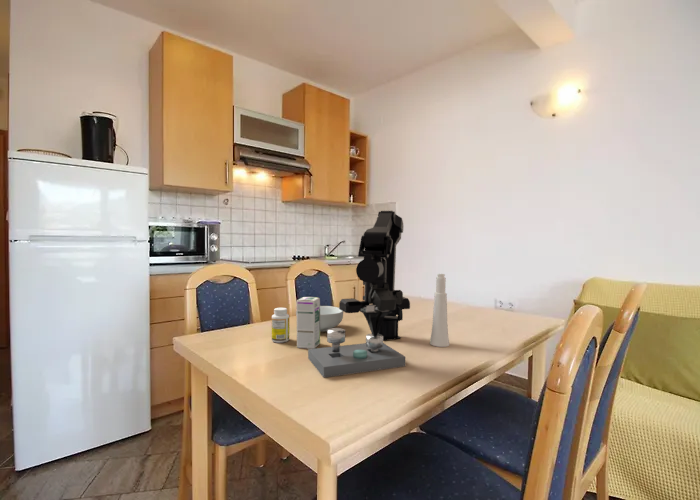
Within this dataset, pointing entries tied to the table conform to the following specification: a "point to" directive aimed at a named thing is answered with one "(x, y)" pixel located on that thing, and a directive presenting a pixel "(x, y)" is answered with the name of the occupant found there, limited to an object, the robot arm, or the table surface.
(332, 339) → the knob
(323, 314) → the cereal bowl
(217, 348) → the table surface
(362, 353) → the teal flat disc
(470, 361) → the table surface
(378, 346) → the knob
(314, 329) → the syrup box
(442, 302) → the cosmetic bottle
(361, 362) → the panel
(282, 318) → the supplement bottle
